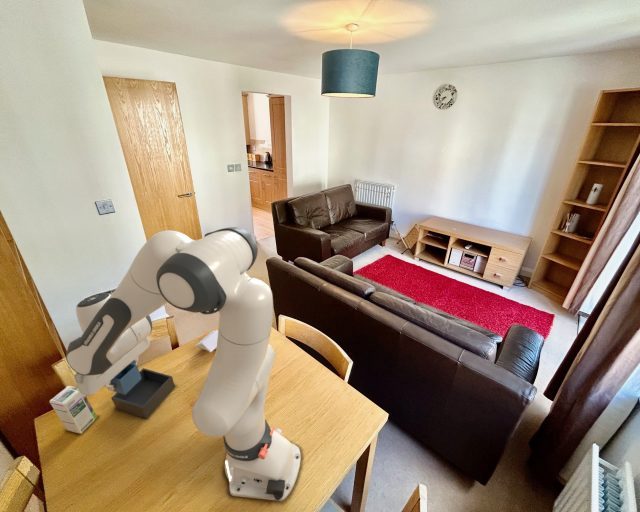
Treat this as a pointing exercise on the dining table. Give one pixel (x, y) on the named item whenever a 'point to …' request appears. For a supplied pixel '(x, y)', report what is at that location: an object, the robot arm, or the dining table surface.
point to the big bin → (145, 394)
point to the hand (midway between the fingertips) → (123, 378)
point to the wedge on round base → (209, 341)
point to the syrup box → (73, 409)
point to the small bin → (126, 379)
